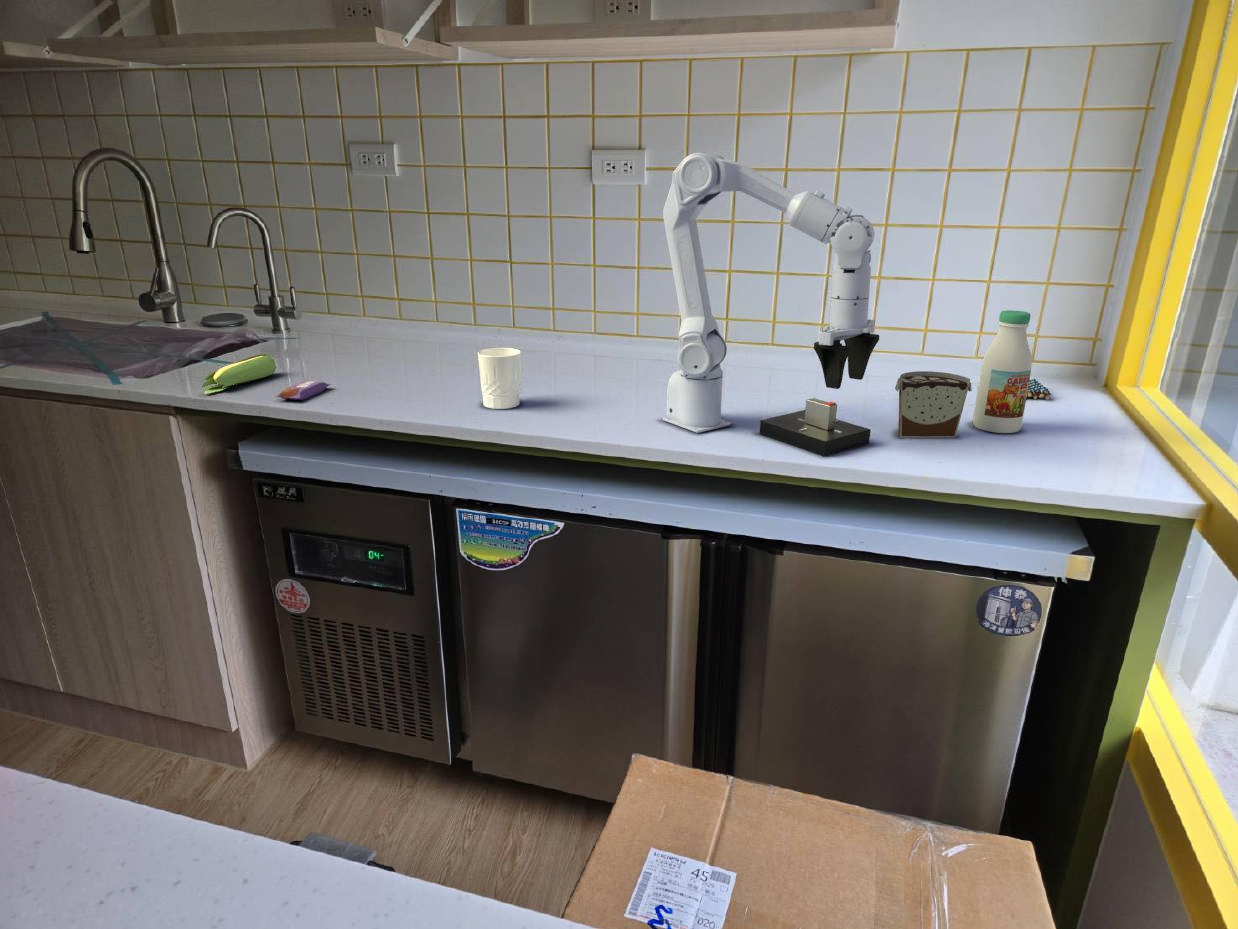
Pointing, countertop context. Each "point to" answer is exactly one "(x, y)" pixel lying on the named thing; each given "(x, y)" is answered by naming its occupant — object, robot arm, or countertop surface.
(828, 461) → the countertop surface
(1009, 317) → the milk bottle
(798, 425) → the panel
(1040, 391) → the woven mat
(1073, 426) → the countertop surface
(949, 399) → the food container
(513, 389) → the white cup
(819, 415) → the grey upright block
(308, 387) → the snack package
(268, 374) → the edible corn
